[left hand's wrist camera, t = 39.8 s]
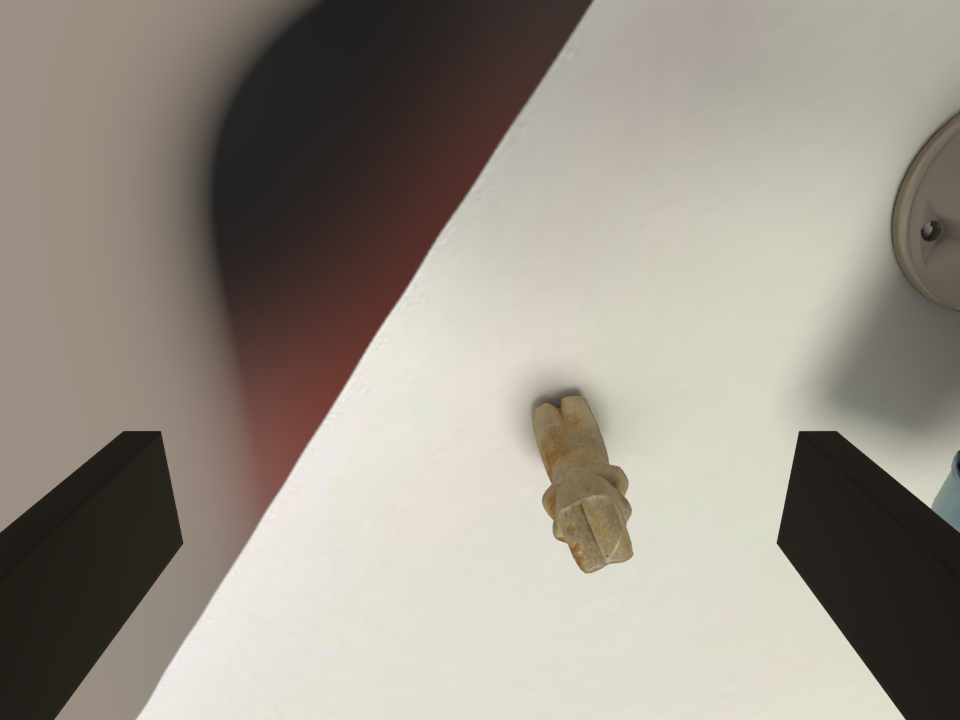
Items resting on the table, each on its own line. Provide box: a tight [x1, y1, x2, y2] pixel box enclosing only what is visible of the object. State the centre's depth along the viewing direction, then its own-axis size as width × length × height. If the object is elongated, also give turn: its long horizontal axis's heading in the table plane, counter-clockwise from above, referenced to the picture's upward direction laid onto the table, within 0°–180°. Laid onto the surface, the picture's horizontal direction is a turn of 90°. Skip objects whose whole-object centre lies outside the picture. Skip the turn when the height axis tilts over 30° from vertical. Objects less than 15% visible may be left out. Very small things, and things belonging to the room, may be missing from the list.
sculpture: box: [532, 396, 633, 573], centre depth 42 cm, size 6×7×15 cm
